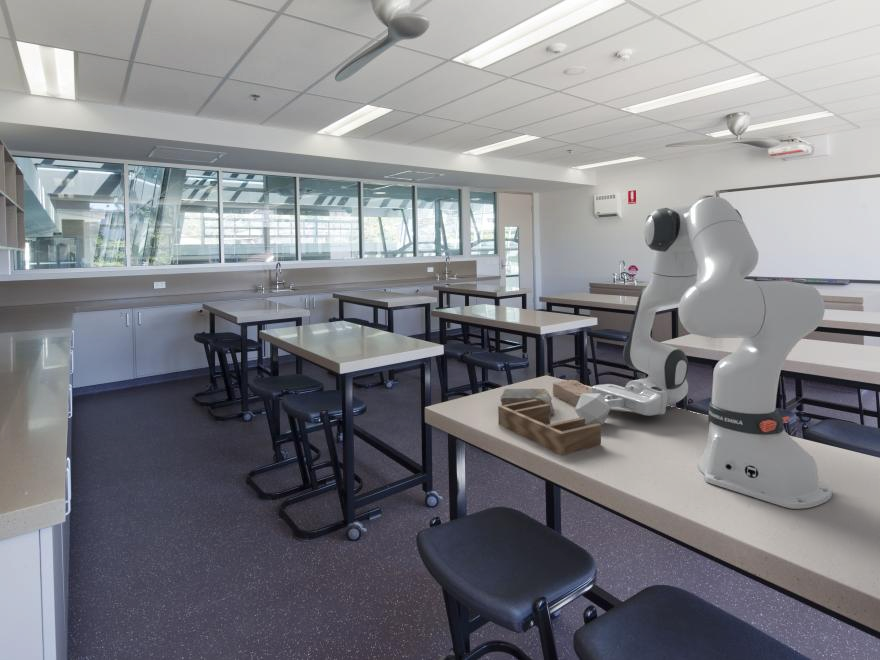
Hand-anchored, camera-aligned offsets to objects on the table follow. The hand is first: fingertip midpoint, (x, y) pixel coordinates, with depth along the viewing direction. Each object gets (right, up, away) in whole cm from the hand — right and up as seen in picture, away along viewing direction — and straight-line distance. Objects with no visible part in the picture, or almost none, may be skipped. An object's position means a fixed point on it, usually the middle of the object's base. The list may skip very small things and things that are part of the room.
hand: (603, 403), depth 138 cm
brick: (-2, -3, +20) cm, 20 cm away
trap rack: (-17, -7, -8) cm, 20 cm away
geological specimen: (-19, -4, +12) cm, 23 cm away
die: (-3, -5, -1) cm, 6 cm away
